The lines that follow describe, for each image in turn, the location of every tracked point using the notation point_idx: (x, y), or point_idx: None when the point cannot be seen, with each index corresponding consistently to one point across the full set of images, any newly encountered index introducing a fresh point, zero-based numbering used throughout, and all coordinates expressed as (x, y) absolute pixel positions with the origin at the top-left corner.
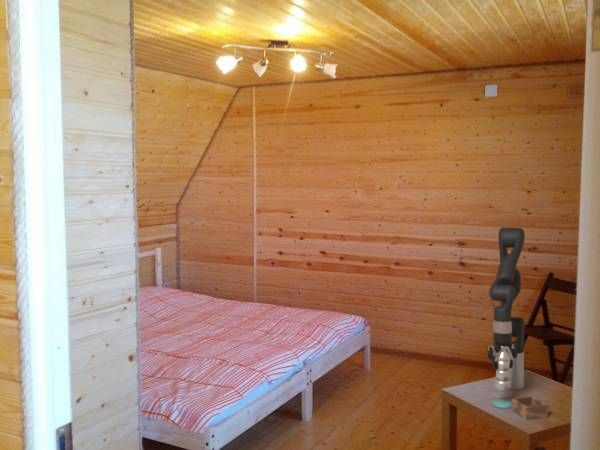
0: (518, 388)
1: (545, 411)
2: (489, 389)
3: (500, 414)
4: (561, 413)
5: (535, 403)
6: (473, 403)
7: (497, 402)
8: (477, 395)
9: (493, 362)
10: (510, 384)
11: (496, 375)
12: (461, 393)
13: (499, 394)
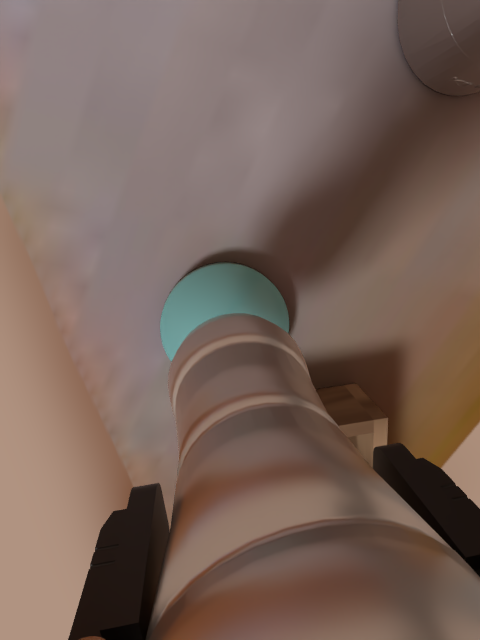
0: (462, 92)
1: None
2: (269, 15)
3: (153, 441)
4: (434, 461)
5: (361, 450)
6: (48, 270)
7: (191, 330)
8: (126, 125)
9: (92, 630)
10: (435, 55)
11: (177, 437)
12: (8, 42)
13: (289, 147)
